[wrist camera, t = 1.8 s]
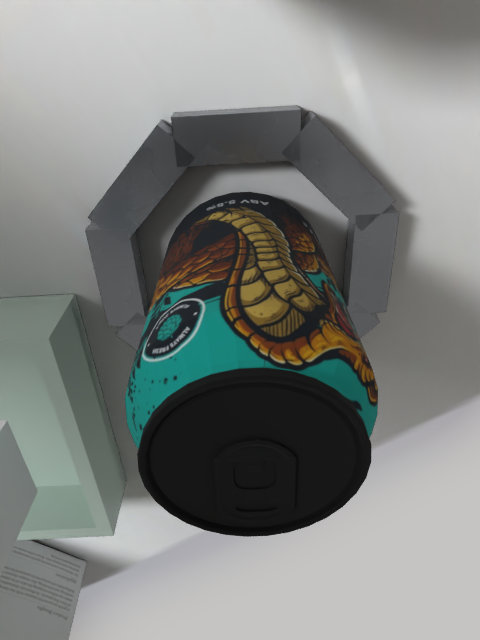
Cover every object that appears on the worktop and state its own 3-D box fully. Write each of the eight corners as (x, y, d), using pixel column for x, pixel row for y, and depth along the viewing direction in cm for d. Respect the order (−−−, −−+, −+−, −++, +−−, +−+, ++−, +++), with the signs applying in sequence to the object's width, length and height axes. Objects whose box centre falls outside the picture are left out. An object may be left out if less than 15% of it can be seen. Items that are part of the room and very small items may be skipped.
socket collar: (129, 378, 25) (124, 393, 24) (69, 118, 18) (59, 123, 17) (370, 366, 25) (376, 380, 24) (403, 98, 18) (414, 102, 17)
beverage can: (323, 183, 20) (422, 346, 9) (315, 321, 23) (380, 546, 13) (158, 190, 20) (80, 360, 9) (176, 327, 23) (134, 555, 13)
